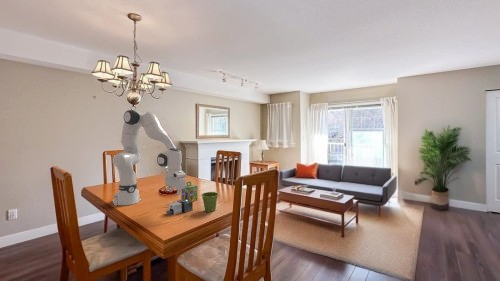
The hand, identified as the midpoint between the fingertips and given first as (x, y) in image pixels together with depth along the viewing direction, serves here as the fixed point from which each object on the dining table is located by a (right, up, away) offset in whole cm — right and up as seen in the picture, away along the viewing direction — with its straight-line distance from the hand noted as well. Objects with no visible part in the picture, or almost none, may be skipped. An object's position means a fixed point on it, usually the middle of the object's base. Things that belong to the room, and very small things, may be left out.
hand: (174, 193), depth 155 cm
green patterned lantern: (+3, -12, +28) cm, 30 cm away
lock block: (+1, -13, +1) cm, 13 cm away
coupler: (+2, -13, +2) cm, 13 cm away
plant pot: (+23, -13, +5) cm, 27 cm away
